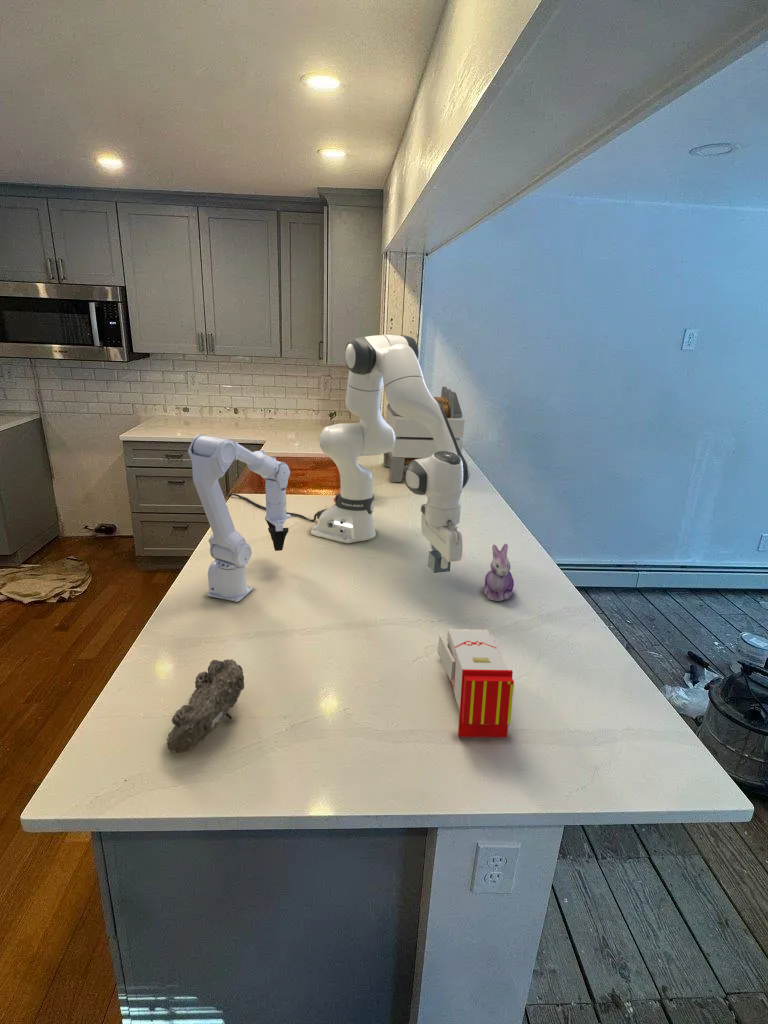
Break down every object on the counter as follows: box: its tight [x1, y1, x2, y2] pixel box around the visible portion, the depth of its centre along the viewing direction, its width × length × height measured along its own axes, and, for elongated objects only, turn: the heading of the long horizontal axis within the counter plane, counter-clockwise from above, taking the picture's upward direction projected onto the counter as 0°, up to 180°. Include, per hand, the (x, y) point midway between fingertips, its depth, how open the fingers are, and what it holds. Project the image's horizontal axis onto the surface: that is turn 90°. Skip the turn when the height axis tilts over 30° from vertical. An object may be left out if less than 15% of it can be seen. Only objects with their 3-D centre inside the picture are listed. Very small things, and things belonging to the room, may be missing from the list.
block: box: [427, 550, 451, 574], centre depth 152 cm, size 4×5×4 cm
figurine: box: [483, 543, 515, 602], centre depth 157 cm, size 9×10×15 cm
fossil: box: [166, 658, 245, 754], centre depth 106 cm, size 22×10×15 cm
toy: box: [437, 628, 515, 738], centre depth 117 cm, size 12×13×30 cm
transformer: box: [383, 386, 465, 483], centre depth 268 cm, size 34×33×41 cm
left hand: (277, 545), depth 167 cm, fingers open, 7 cm apart
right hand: (439, 563), depth 152 cm, fingers closed on block, 4 cm apart
